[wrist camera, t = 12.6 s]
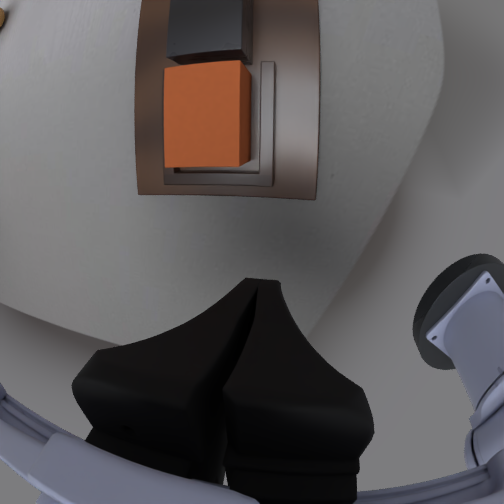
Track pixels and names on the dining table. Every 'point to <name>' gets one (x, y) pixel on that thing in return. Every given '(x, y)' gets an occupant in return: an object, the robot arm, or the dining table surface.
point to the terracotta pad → (207, 115)
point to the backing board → (262, 92)
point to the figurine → (1, 16)
